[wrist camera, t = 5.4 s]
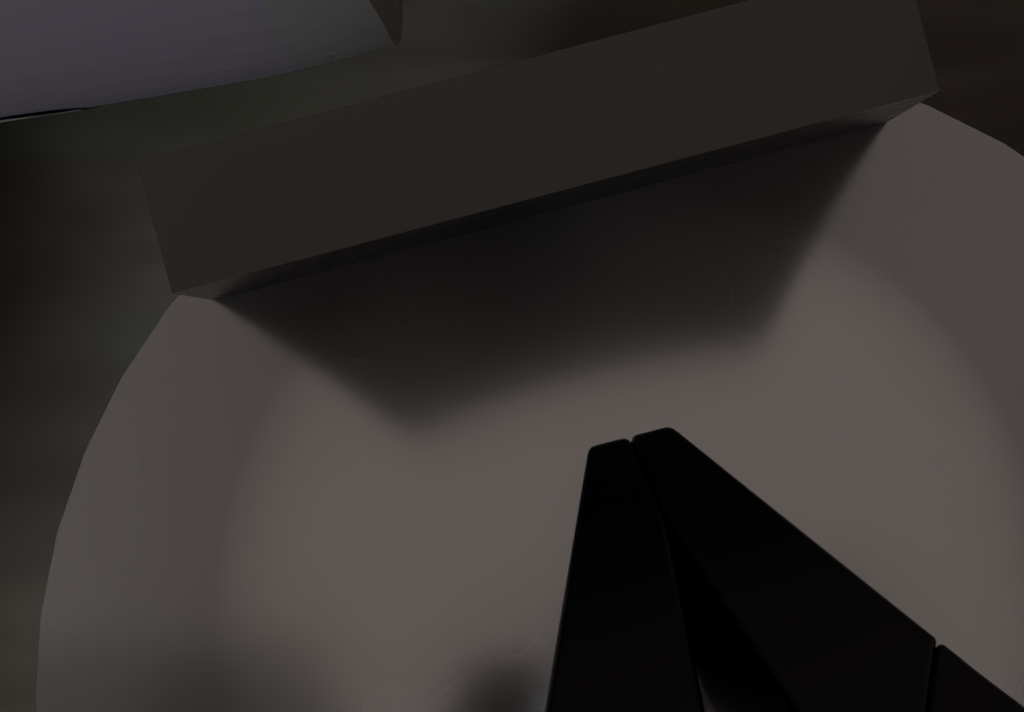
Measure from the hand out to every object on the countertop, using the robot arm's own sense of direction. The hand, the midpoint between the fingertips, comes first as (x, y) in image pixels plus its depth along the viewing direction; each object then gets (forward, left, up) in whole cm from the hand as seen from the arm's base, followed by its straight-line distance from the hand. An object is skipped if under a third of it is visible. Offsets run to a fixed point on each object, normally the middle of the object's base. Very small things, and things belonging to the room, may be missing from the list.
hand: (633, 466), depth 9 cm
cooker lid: (-2, 0, -2) cm, 3 cm away
